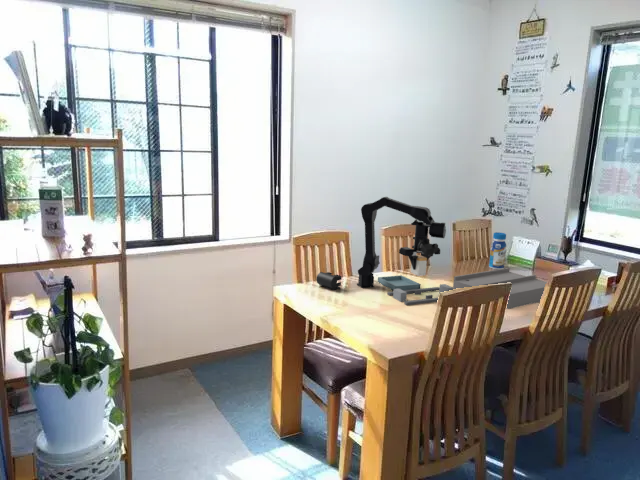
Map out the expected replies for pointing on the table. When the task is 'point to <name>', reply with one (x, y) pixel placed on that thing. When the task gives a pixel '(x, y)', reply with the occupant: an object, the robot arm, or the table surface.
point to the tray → (398, 282)
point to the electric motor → (328, 280)
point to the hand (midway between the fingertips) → (418, 269)
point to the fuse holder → (402, 294)
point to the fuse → (420, 266)
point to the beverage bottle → (498, 251)
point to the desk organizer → (522, 286)
